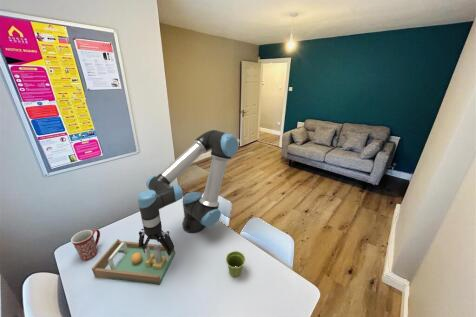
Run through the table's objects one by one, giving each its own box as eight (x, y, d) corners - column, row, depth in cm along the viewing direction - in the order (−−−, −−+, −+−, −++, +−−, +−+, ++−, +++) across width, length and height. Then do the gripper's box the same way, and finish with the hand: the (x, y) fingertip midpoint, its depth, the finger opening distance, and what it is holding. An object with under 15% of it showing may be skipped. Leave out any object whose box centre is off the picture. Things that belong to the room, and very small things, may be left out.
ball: (143, 256, 102) (141, 249, 100) (142, 264, 98) (140, 256, 96) (132, 259, 100) (130, 252, 99) (131, 267, 96) (129, 260, 94)
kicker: (166, 258, 101) (163, 242, 96) (160, 269, 95) (157, 252, 91) (151, 257, 101) (148, 241, 97) (145, 267, 96) (141, 251, 92)
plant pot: (247, 266, 100) (247, 254, 97) (241, 283, 92) (241, 270, 88) (230, 261, 103) (230, 249, 99) (223, 276, 94) (222, 264, 91)
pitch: (175, 253, 107) (173, 240, 103) (159, 284, 90) (156, 271, 87) (119, 247, 110) (116, 235, 106) (95, 277, 93) (89, 263, 90)
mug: (86, 264, 99) (78, 245, 94) (74, 259, 102) (66, 239, 97) (109, 246, 110) (103, 227, 105) (97, 241, 113) (91, 223, 108)
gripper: (178, 219, 90) (183, 254, 99) (133, 215, 92) (141, 249, 101) (172, 230, 83) (177, 267, 92) (123, 226, 85) (133, 262, 94)
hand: (158, 258), depth 96 cm, fingers open, 10 cm apart
